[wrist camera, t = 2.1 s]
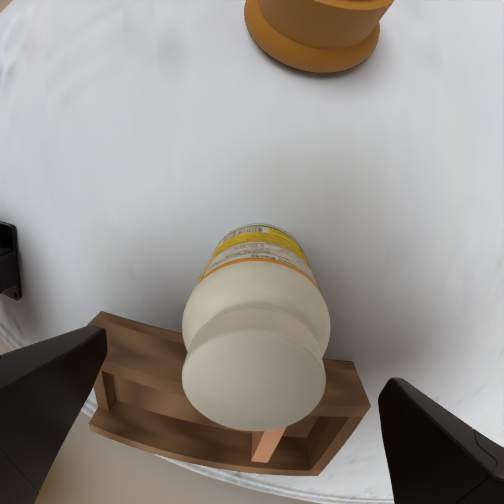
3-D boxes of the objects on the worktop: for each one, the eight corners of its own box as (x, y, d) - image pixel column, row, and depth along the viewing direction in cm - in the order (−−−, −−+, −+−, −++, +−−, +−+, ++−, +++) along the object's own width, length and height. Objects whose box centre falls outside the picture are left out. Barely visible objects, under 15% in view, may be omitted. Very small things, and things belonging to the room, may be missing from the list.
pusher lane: (111, 395, 20) (91, 430, 16) (101, 311, 17) (68, 345, 13) (312, 435, 20) (318, 475, 16) (352, 362, 18) (370, 406, 14)
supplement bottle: (242, 203, 15) (213, 259, 6) (323, 254, 16) (391, 358, 7) (195, 282, 16) (134, 398, 7) (272, 324, 17) (278, 457, 8)
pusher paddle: (252, 431, 19) (251, 461, 16) (272, 377, 17) (273, 410, 14) (267, 433, 19) (267, 462, 16) (289, 379, 17) (293, 412, 14)
